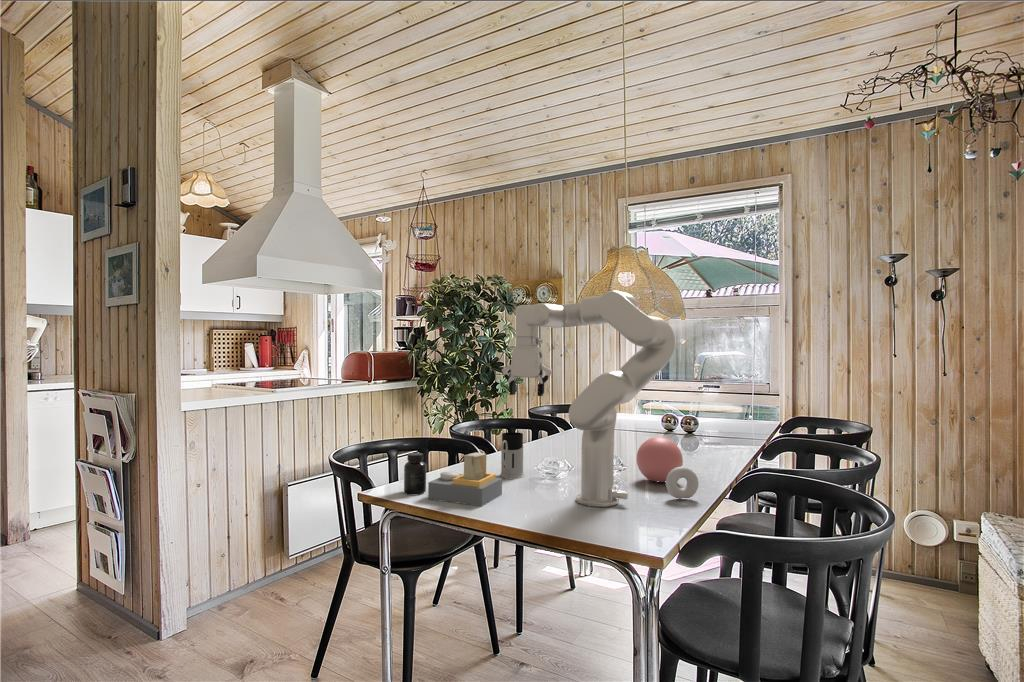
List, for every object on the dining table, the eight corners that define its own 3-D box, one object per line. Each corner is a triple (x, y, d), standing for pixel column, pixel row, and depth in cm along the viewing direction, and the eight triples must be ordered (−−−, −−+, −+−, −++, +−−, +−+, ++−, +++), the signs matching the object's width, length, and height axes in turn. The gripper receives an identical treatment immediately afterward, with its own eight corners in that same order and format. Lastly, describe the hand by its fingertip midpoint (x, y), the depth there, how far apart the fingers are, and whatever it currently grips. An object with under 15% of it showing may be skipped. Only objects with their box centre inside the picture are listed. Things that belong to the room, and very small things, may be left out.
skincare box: (474, 498, 161) (474, 456, 161) (462, 495, 163) (463, 455, 163) (486, 493, 166) (487, 453, 166) (475, 491, 169) (475, 451, 169)
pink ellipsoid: (678, 475, 197) (678, 432, 198) (685, 488, 178) (685, 441, 178) (635, 473, 200) (635, 431, 201) (637, 486, 181) (637, 440, 181)
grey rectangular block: (501, 494, 169) (502, 473, 169) (481, 506, 156) (482, 483, 156) (451, 488, 176) (451, 468, 176) (428, 499, 163) (428, 477, 163)
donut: (695, 497, 167) (695, 465, 167) (700, 501, 163) (700, 467, 164) (664, 498, 166) (664, 465, 166) (668, 501, 163) (668, 467, 163)
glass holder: (527, 474, 197) (528, 432, 197) (513, 483, 184) (514, 438, 184) (505, 472, 200) (505, 431, 200) (490, 480, 187) (490, 437, 187)
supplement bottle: (405, 489, 174) (405, 452, 174) (426, 489, 174) (427, 451, 175) (402, 495, 167) (403, 456, 167) (425, 494, 168) (425, 455, 168)
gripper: (555, 343, 177) (555, 395, 177) (507, 343, 184) (506, 393, 184) (548, 342, 170) (547, 397, 170) (498, 342, 177) (497, 395, 177)
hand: (526, 395), depth 177 cm, fingers open, 9 cm apart
